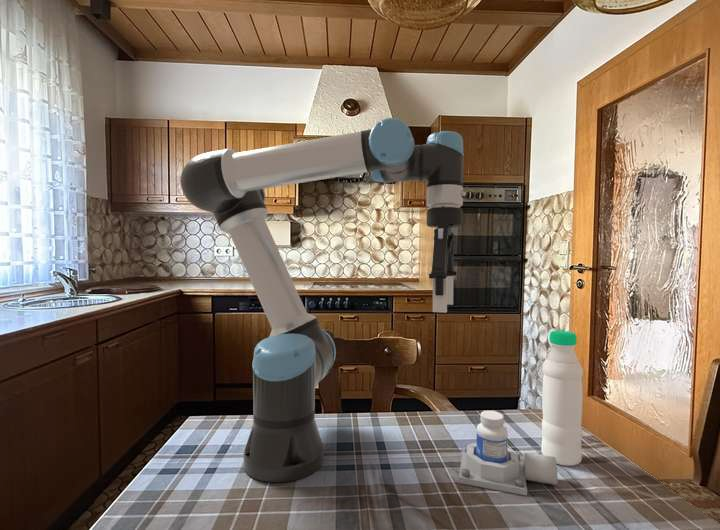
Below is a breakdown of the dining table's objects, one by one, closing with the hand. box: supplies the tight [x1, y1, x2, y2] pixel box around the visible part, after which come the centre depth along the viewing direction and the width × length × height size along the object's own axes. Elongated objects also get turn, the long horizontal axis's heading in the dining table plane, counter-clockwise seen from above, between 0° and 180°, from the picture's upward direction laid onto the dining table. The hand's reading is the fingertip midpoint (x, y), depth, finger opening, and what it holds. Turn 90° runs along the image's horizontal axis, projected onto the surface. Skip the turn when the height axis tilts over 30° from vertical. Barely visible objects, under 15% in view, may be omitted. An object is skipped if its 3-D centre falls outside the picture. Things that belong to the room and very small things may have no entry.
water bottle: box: [540, 330, 584, 467], centre depth 76 cm, size 7×7×25 cm
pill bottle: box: [476, 410, 509, 464], centre depth 70 cm, size 6×5×10 cm
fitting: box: [458, 442, 558, 497], centre depth 70 cm, size 16×11×4 cm
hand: (443, 308), depth 82 cm, fingers open, 13 cm apart
